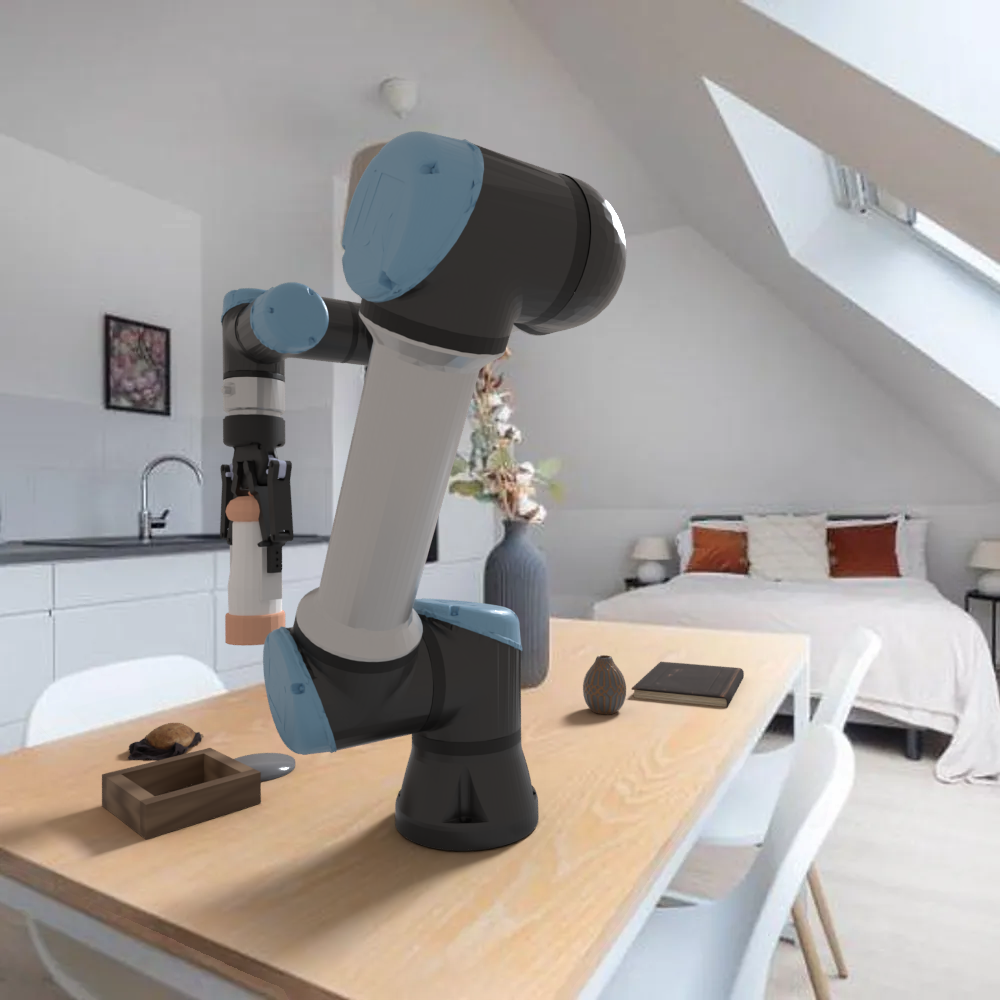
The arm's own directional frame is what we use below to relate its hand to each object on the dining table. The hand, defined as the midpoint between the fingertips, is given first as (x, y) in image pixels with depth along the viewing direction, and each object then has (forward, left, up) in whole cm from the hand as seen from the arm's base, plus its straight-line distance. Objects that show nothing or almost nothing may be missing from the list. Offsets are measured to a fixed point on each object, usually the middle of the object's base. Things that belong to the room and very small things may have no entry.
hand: (255, 596), depth 95 cm
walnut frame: (-4, +11, -22) cm, 25 cm away
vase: (-16, -52, -22) cm, 59 cm away
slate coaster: (0, 0, -22) cm, 22 cm away
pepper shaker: (0, 0, -6) cm, 6 cm away
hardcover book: (-19, -75, -23) cm, 81 cm away
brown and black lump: (+18, +4, -23) cm, 29 cm away
